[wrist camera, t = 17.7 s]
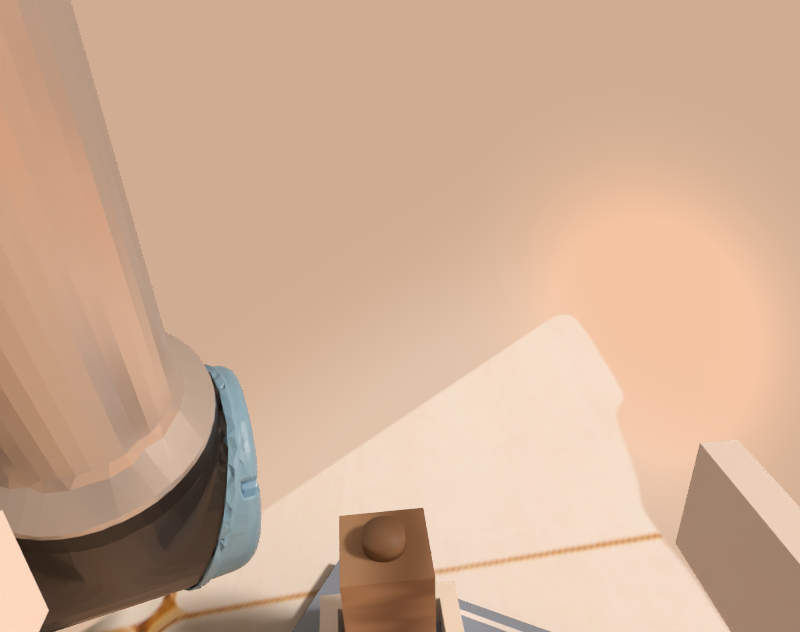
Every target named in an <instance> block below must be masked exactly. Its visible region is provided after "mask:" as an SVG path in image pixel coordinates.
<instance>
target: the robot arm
mask: <svg viewBox="0 0 800 632" xmlns="http://www.w3.org/2000/svg"><path fill="white" fill-rule="evenodd" d="M256 479H257V459H256V451H255V445H254V439H253V433H252V428H251V423H250V419H249V414H248V410H247V406H246V402H245V399H244V396H243V391H242V389H241V386H240V384H239V381H238V379H237V377H236V375H235V374H234V373H233V372H232V371H231V370H230V369H227V368H225V367H222V366H215V367H211V366H208V365H204V364H203V362H202V360H201V359H200V357H199V356H198V355H197V354H196V353H195V352H194V351H193V350H192V349H191V348H190V347H189V346H188V345H186V344H185V343H184V342H182V341H181V340H179V339H177V338H175V337H174V336H172V335H170V334H168V333H166V332H164V328H163V325H162V321H161V318H160V314H159V311H158V307H157V304H156V300H155V296H154V293H153V290H152V286H151V283H150V279H149V275H148V272H147V268H146V265H145V261H144V258H143V254H142V251H141V248H140V244H139V240H138V237H137V233H136V229H135V226H134V222H133V219H132V215H131V212H130V208H129V205H128V202H127V198H126V194H125V191H124V187H123V184H122V180H121V176H120V173H119V170H118V166H117V162H116V159H115V155H114V152H113V149H112V145H111V141H110V138H109V134H108V131H107V127H106V124H105V121H104V117H103V113H102V109H101V106H100V102H99V99H98V95H97V92H96V88H95V85H94V82H93V78H92V74H91V71H90V67H89V64H88V60H87V57H86V53H85V50H84V46H83V43H82V39H81V36H80V32H79V28H78V25H77V21H76V18H75V14H74V11H73V7H72V4H71V0H0V632H54V631H57V630H60V629H64V628H66V627H70V626H73V625H76V624H79V623H82V622H85V621H88V620H91V619H94V618H97V617H100V616H104V615H107V614H110V613H113V612H116V611H119V610H122V609H125V608H128V607H131V606H134V605H137V604H140V603H144V602H147V601H150V600H153V599H156V598H159V597H162V596H165V595H168V594H171V593H174V592H177V591H181V590H188V591H189V590H194V589H198V588H201V586H204V585H205V584H206V583H208V582H209V581H210V580H211V579H214V578H216V577H219V576H222V575H224V574H227V573H230V572H233V571H235V570H237V569H239V568H241V567H242V566H244V565H245V564H246V563H248V561H249V560H250V559H251V558H252V557H253V555H254V553H255V551H256V549H257V546H258V543H259V539H260V531H261V500H260V490H259V486H258V483H257V481H256ZM676 545H677V546H678V548H679V549H680V551H681V553H682V554H683V556H684V557H685V559H686V561H687V562H688V564H689V565H690V567H691V569H692V570H693V572H694V573H695V575H696V576H697V578H698V580H699V581H700V583H701V584H702V586H703V588H704V589H705V591H706V592H707V594H708V596H709V597H710V599H711V600H712V602H713V603H714V605H715V607H716V608H717V610H718V612H719V613H720V615H721V616H722V618H723V619H724V621H725V623H726V624H727V626H728V627H729V629H730V631H731V632H800V507H799V506H798V505H797V504H796V503H795V502H794V501H793V500H792V498H791V497H790V496H789V495H788V494H787V493H786V492H785V491H784V490H783V489H782V488H781V486H780V485H779V484H778V483H777V482H776V481H775V480H774V479H773V478H772V477H771V475H770V474H768V472H767V471H766V470H765V469H764V468H763V467H762V466H761V465H760V463H759V462H758V461H757V460H756V459H755V458H754V457H753V456H752V455H751V454H750V453H749V451H748V450H747V449H746V448H745V447H744V446H743V445H742V444H741V443H740V442H739V440H738V439H737V440H726V441H717V442H705V443H700V446H699V450H698V454H697V458H696V462H695V466H694V470H693V474H692V478H691V482H690V486H689V490H688V494H687V498H686V503H685V507H684V511H683V515H682V519H681V523H680V527H679V531H678V535H677V539H676Z"/></svg>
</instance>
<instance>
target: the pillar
mask: <svg viewBox="0 0 800 632" xmlns="http://www.w3.org/2000/svg"><path fill="white" fill-rule="evenodd" d="M339 539H340V594H341V602H342V610H343V618H344V626H345V632H436V600H435V574H434V569H433V563H432V557H431V551H430V545H429V539H428V533H427V528H426V522H425V516H424V510H423V508H417V509H407V510H397V511H387V512H376V513H366V514H356V515H346V516H339Z"/></svg>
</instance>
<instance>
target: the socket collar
mask: <svg viewBox="0 0 800 632" xmlns="http://www.w3.org/2000/svg"><path fill="white" fill-rule="evenodd" d="M435 600H436V622H440V623H441V629H442V632H465V631H464V627H463V622H462V617H461V612H460V607H459V602H458V598H457V593H456V588H455V583H454V581H451V582H442V583H435ZM319 632H345V626H344V618H343V610H342V602H341V594H333V595H323V596H320V629H319Z"/></svg>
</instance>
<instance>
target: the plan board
mask: <svg viewBox="0 0 800 632" xmlns="http://www.w3.org/2000/svg"><path fill="white" fill-rule="evenodd" d="M333 594H340V560H339V561H338V563H337V564H336V566H335V567H334V569H333V570H332V572H331V573H330V575H329V576H328V578H327V579H326V581H325V582H324V584H323V586H322V587H321V589H320V590H319V592H318V593H317V595H316V596H315V598H314V599H313V601H312V602H311V604H310V605H309V607H308V608H307V610H306V611H305V613H304V614H303V616H302V617H301V619H300V620H299V622H298V623H297V625H296V627H295V628H294V630H293V631H292V632H319V629H320V596H323V595H333ZM458 602H459V607H460V612H461V617H462V622H463V627H464V631H465V632H550V631H547V630H544V629H541V628H538V627H535V626H533V625H530V624H527V623H524V622H521V621H519V620H516V619H513V618H510V617H507V616H504V615H502V614H499V613H496V612H493V611H490V610H488V609H485V608H482V607H479V606H476V605H474V604H471V603H468V602H465V601H462V600H459V599H458ZM436 632H442V629H441V623H440V622H436Z"/></svg>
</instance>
